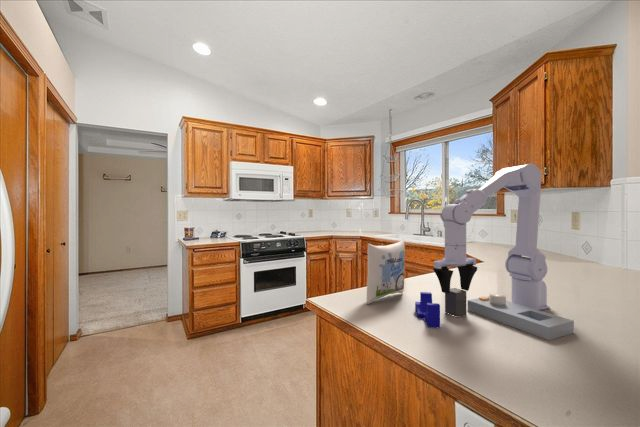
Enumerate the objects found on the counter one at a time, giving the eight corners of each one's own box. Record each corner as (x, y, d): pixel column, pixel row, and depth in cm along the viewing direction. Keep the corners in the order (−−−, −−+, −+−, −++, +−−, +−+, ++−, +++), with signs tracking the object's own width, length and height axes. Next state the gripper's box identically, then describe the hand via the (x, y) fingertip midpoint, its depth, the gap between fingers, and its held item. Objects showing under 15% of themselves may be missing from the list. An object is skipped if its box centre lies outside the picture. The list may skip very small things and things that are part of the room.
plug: (455, 310, 86) (455, 287, 86) (466, 315, 82) (466, 291, 82) (445, 312, 85) (445, 289, 85) (456, 317, 81) (456, 292, 81)
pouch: (358, 301, 96) (357, 242, 96) (396, 291, 107) (395, 238, 107) (375, 307, 90) (374, 244, 89) (413, 296, 100) (413, 240, 100)
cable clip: (415, 311, 87) (415, 291, 86) (430, 312, 86) (430, 292, 86) (421, 327, 75) (421, 304, 75) (440, 328, 74) (439, 305, 74)
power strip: (490, 305, 90) (490, 288, 90) (573, 332, 70) (573, 310, 70) (467, 309, 87) (467, 291, 87) (548, 340, 66) (548, 316, 66)
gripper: (462, 242, 90) (462, 285, 90) (425, 244, 84) (426, 290, 84) (482, 244, 83) (482, 291, 83) (444, 247, 78) (444, 297, 78)
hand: (455, 291), depth 83 cm, fingers open, 7 cm apart
